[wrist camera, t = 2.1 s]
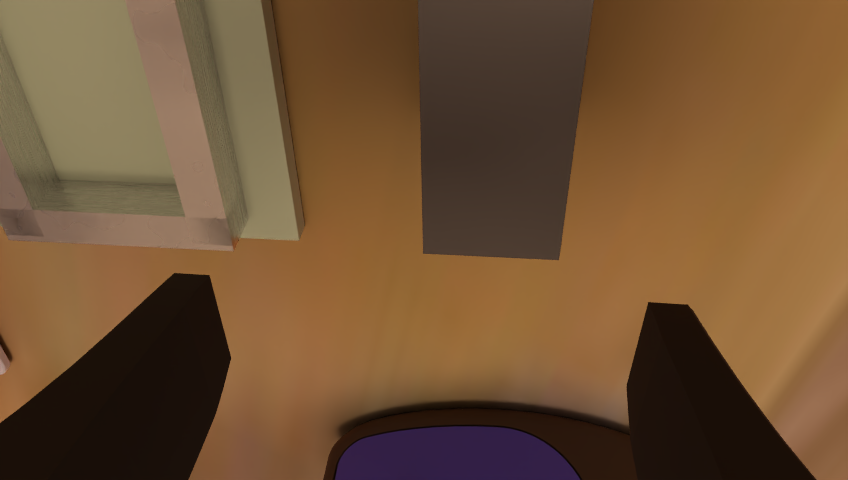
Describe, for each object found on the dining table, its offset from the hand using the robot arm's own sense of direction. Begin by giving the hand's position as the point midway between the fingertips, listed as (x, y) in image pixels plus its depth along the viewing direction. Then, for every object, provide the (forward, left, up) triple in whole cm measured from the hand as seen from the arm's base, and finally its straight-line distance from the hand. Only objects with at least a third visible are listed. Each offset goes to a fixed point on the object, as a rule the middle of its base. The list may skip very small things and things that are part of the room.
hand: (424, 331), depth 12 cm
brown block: (+1, +2, -10) cm, 10 cm away
